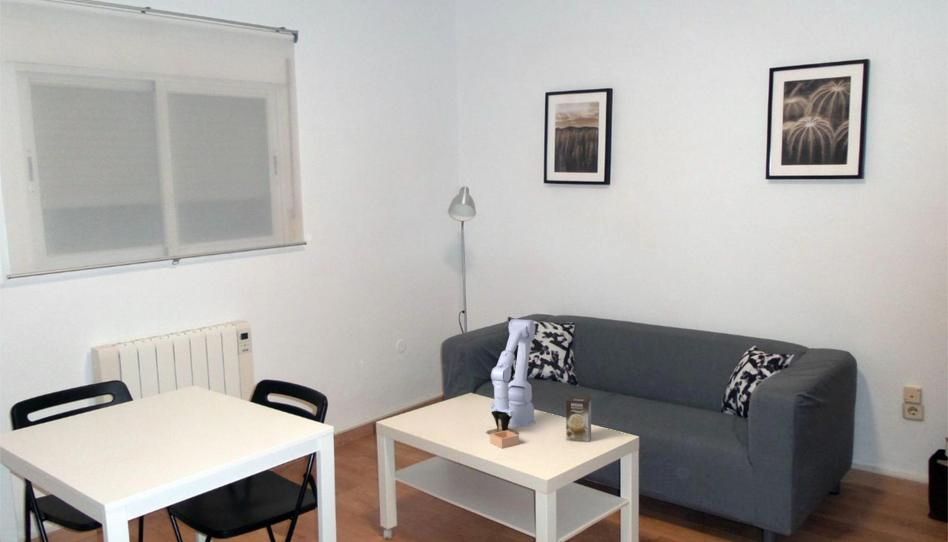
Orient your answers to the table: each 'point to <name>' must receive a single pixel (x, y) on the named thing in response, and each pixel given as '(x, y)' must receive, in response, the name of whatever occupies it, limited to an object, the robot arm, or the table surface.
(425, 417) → the table surface
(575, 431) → the coffee box
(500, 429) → the lid
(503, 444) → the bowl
